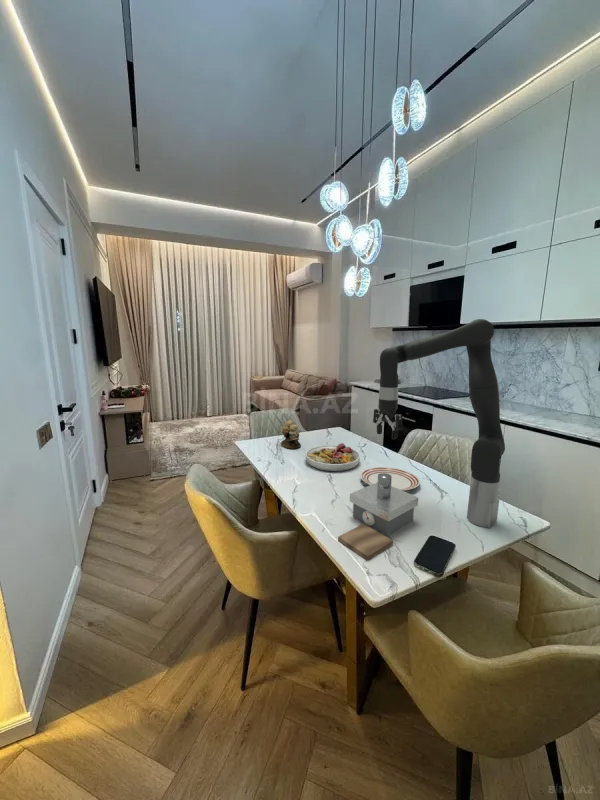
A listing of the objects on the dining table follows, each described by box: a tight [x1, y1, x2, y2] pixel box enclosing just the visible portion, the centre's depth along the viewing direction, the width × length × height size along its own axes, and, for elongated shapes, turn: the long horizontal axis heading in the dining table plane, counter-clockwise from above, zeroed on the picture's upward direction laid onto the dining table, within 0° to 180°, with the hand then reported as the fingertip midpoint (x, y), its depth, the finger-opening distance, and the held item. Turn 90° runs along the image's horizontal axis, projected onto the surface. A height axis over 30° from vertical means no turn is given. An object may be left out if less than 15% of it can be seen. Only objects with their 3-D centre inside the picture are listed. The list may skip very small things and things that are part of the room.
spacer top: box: [378, 473, 392, 489], centre depth 124 cm, size 5×5×4 cm
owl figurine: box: [280, 419, 302, 450], centre depth 210 cm, size 18×12×17 cm, turn 27°
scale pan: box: [349, 482, 419, 521], centre depth 126 cm, size 18×18×3 cm
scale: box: [352, 503, 415, 536], centre depth 126 cm, size 16×17×8 cm
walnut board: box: [337, 523, 394, 561], centre depth 112 cm, size 13×13×2 cm
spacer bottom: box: [377, 485, 391, 499], centre depth 125 cm, size 5×5×4 cm
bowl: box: [305, 442, 361, 472], centre depth 183 cm, size 30×30×8 cm
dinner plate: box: [359, 466, 420, 492], centre depth 158 cm, size 27×27×3 cm
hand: (386, 436), depth 136 cm, fingers open, 8 cm apart
